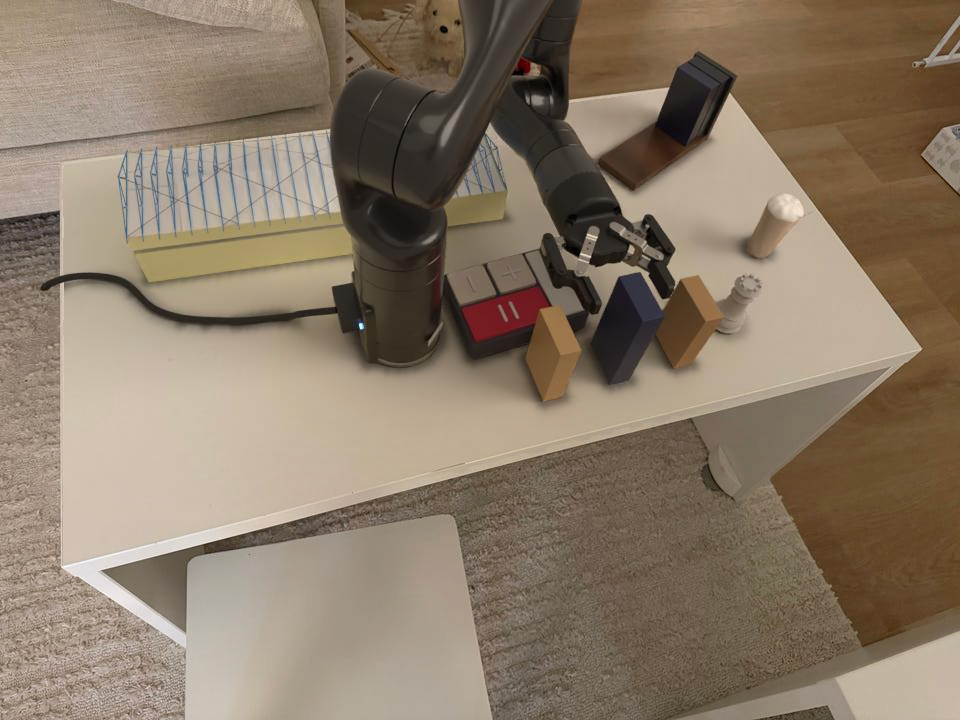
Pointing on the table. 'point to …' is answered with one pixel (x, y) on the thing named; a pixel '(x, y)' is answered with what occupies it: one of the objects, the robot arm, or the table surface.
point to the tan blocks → (678, 334)
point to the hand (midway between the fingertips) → (633, 302)
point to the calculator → (506, 302)
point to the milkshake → (774, 224)
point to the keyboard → (259, 204)
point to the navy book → (626, 327)
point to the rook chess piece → (738, 303)
